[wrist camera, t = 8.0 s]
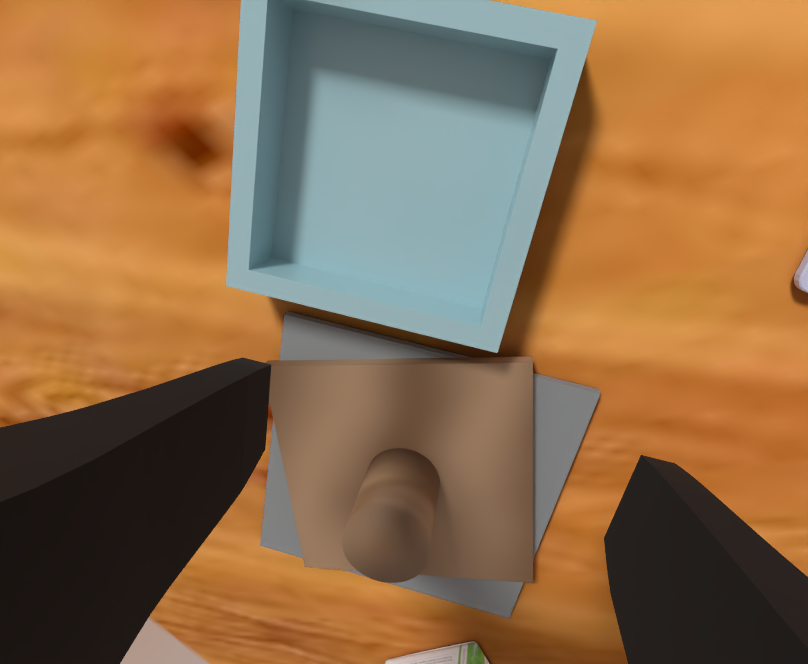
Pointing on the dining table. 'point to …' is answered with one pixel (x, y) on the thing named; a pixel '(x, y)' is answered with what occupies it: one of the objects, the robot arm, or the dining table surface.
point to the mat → (322, 340)
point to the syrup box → (445, 655)
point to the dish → (397, 155)
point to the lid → (410, 464)
